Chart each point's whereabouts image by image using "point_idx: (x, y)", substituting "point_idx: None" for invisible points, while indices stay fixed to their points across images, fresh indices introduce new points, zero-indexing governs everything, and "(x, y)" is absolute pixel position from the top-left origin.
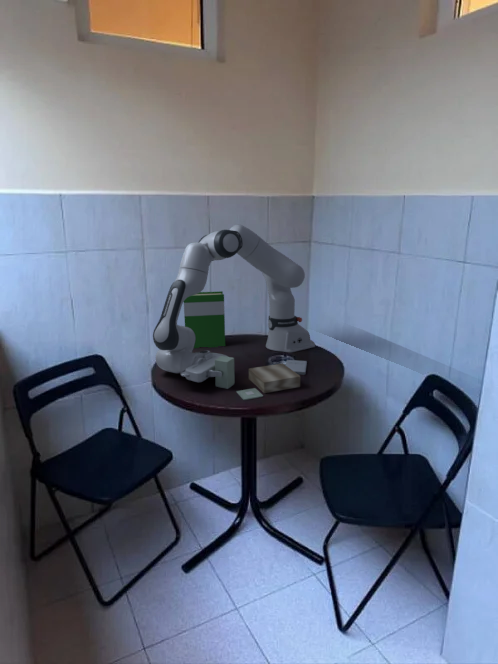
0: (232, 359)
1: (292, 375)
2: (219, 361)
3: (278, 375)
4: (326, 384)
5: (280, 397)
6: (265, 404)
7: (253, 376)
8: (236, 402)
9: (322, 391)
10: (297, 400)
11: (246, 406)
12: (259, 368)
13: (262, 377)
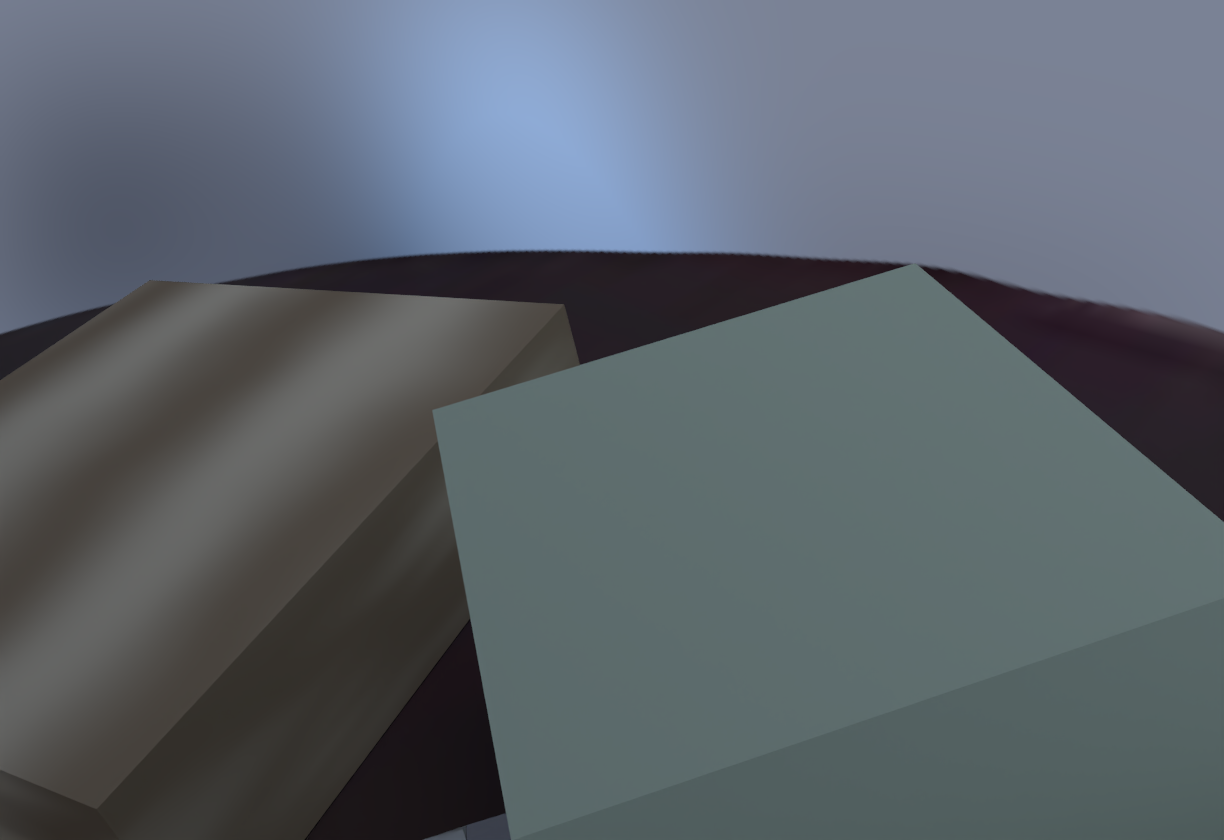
0: (561, 391)
1: (160, 314)
2: (1097, 444)
3: (230, 368)
4: (57, 341)
5: (572, 327)
6: (824, 290)
7: (329, 644)
8: (1114, 422)
9: (233, 283)
10: (527, 255)
11: (1050, 322)
12: (14, 675)
13: (418, 404)
